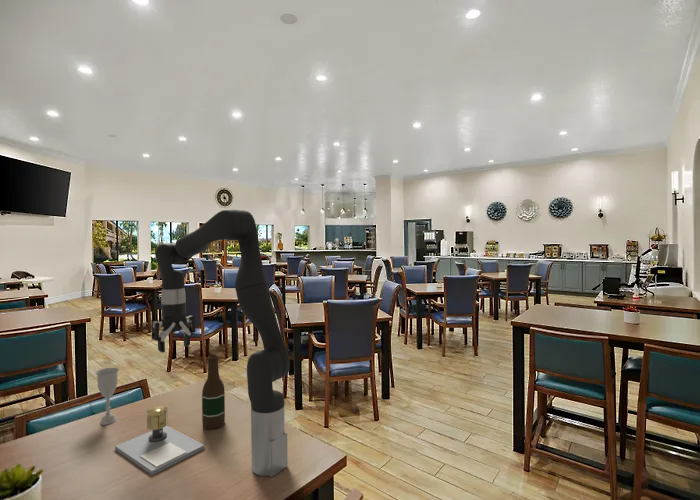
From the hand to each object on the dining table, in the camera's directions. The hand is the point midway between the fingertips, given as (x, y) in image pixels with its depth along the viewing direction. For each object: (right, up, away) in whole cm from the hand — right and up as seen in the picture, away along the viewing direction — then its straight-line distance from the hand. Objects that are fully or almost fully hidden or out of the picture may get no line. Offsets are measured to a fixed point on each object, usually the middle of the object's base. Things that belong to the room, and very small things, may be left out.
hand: (174, 349), depth 129 cm
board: (+2, -27, -13) cm, 30 cm away
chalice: (-26, -27, +5) cm, 38 cm away
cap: (-1, -22, -9) cm, 24 cm away
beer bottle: (+13, -27, +2) cm, 30 cm away
